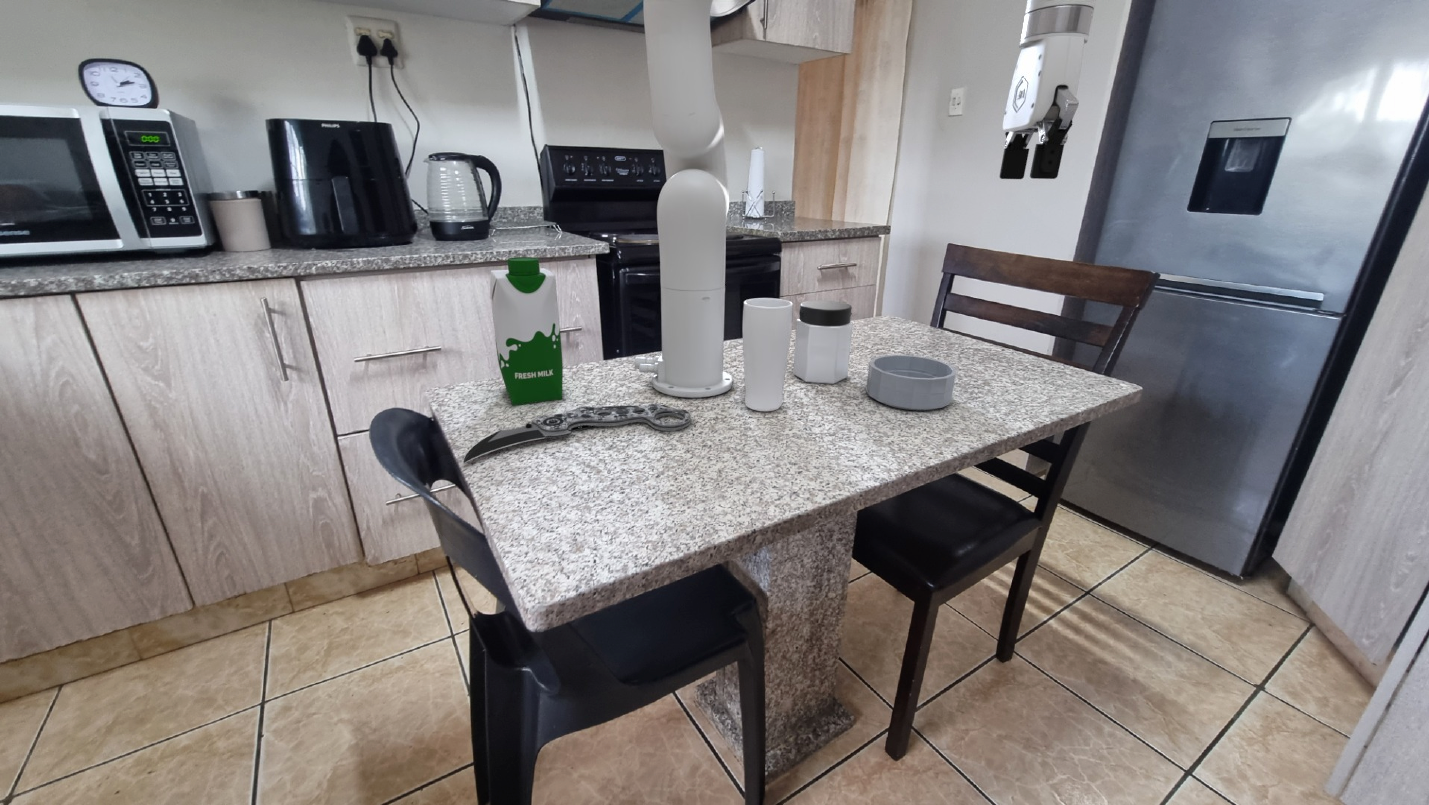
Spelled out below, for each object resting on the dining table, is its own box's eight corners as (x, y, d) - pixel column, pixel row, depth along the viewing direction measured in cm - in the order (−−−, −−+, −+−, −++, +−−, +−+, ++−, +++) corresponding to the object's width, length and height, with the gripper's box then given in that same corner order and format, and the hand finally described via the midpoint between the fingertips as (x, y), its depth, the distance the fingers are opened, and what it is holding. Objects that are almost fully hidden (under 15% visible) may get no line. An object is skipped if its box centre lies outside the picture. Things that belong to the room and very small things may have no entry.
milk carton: (506, 409, 81) (490, 262, 74) (499, 388, 88) (483, 254, 81) (570, 400, 84) (559, 259, 77) (557, 381, 92) (547, 252, 85)
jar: (812, 365, 103) (818, 297, 99) (854, 375, 98) (862, 304, 94) (784, 376, 96) (788, 305, 92) (827, 388, 92) (834, 312, 87)
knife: (462, 458, 63) (458, 420, 72) (464, 470, 64) (459, 432, 72) (701, 423, 75) (673, 394, 83) (700, 434, 75) (673, 404, 83)
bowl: (874, 410, 83) (879, 377, 81) (860, 383, 94) (863, 353, 92) (962, 414, 82) (968, 380, 80) (936, 386, 93) (941, 356, 92)
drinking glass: (773, 418, 79) (779, 309, 74) (730, 408, 83) (734, 303, 77) (794, 404, 85) (801, 301, 79) (753, 394, 88) (757, 295, 83)
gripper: (996, 46, 80) (974, 178, 86) (1057, 12, 64) (1025, 177, 70) (1052, 46, 80) (1026, 179, 86) (1128, 12, 64) (1089, 179, 70)
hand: (1026, 178), depth 78 cm, fingers open, 9 cm apart
